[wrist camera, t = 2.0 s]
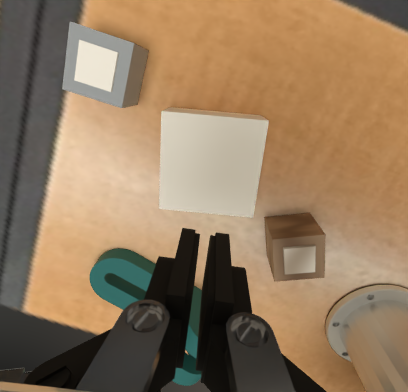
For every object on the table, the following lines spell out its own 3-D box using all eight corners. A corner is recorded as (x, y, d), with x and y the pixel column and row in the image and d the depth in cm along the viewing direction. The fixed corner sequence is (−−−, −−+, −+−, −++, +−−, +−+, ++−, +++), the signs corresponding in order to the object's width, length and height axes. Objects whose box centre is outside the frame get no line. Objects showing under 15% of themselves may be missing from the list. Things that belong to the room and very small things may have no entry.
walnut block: (309, 212, 31) (326, 236, 26) (309, 250, 33) (325, 279, 28) (264, 217, 32) (272, 241, 27) (266, 254, 34) (275, 283, 29)
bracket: (233, 306, 37) (236, 361, 30) (204, 337, 39) (201, 395, 32) (111, 238, 34) (82, 280, 27) (88, 275, 36) (55, 323, 29)
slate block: (149, 50, 26) (133, 42, 21) (137, 104, 28) (120, 108, 23) (96, 32, 26) (67, 20, 21) (88, 88, 28) (60, 89, 23)
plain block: (260, 114, 28) (269, 120, 23) (247, 198, 31) (253, 217, 27) (170, 106, 28) (161, 110, 23) (167, 190, 31) (158, 208, 27)
